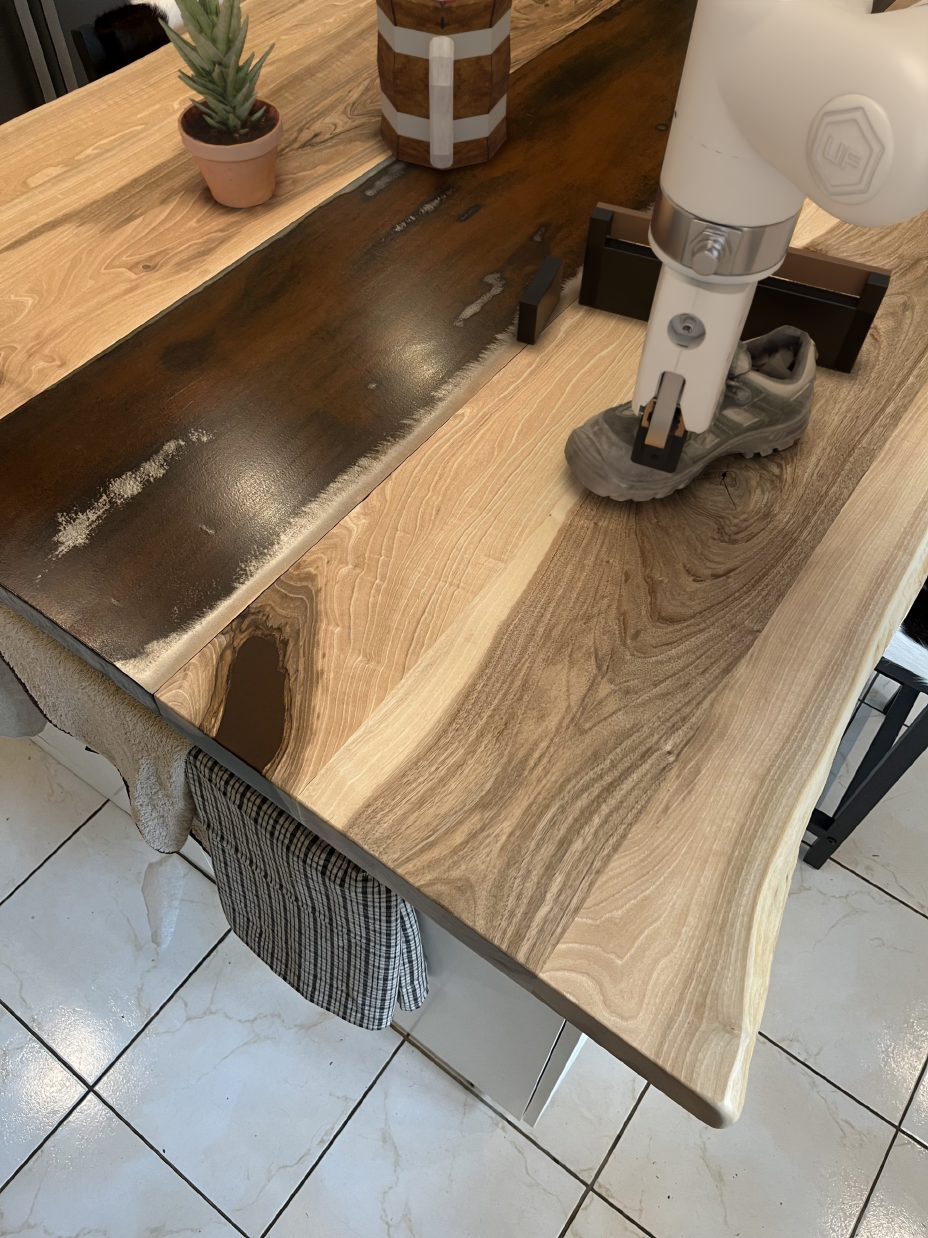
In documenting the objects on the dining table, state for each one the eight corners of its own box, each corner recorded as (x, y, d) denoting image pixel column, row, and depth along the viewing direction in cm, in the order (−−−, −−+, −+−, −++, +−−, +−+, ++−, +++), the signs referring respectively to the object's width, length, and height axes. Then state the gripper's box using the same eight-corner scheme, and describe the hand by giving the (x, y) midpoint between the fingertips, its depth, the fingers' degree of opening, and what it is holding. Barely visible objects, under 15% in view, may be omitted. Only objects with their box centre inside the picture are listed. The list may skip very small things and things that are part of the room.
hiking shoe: (529, 418, 72) (600, 350, 61) (743, 365, 79) (842, 295, 68) (570, 532, 71) (649, 483, 60) (781, 468, 79) (887, 414, 68)
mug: (384, 103, 104) (376, -55, 92) (505, 106, 104) (514, -51, 92) (372, 201, 93) (362, 36, 80) (509, 204, 93) (519, 40, 81)
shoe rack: (854, 356, 80) (892, 269, 73) (836, 427, 75) (876, 340, 68) (551, 279, 86) (561, 192, 79) (516, 340, 81) (523, 252, 74)
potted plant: (213, 228, 90) (147, -79, 69) (181, 180, 94) (110, -120, 74) (310, 202, 92) (274, -100, 72) (274, 157, 97) (230, -138, 77)
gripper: (767, 318, 46) (682, 554, 61) (814, 164, 54) (729, 406, 69) (618, 280, 47) (571, 520, 62) (686, 135, 55) (630, 379, 70)
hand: (654, 460), depth 65 cm, fingers closed
